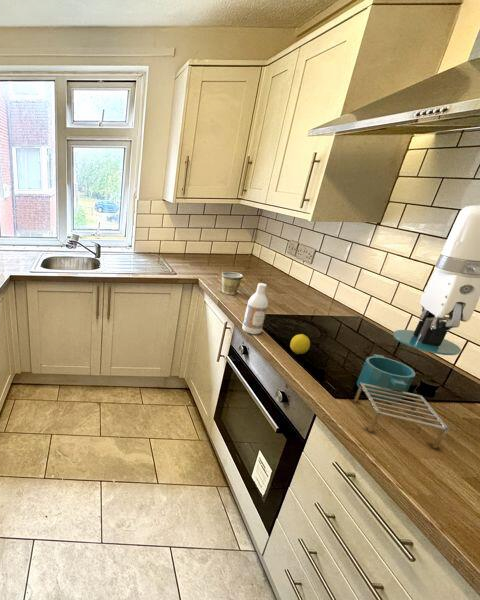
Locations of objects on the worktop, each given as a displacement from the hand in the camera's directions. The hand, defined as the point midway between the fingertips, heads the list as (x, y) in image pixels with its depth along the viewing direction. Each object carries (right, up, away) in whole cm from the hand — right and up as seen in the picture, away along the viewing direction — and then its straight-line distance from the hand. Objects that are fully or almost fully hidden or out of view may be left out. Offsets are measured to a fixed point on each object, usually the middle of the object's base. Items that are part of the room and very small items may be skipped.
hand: (426, 340), depth 74 cm
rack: (-1, -22, +7) cm, 23 cm away
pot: (+7, -17, +19) cm, 27 cm away
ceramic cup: (-1, +13, +93) cm, 94 cm away
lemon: (-5, -10, +37) cm, 39 cm away
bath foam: (-12, -3, +54) cm, 55 cm away
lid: (0, -1, 0) cm, 1 cm away
